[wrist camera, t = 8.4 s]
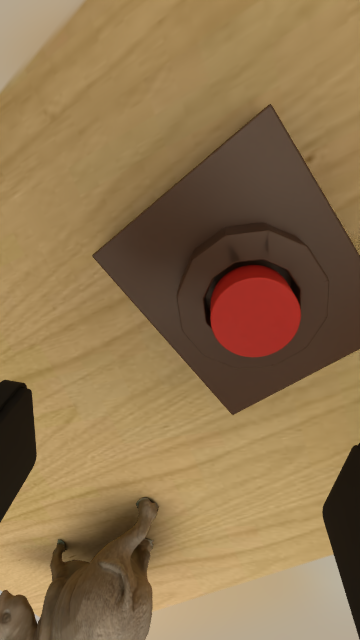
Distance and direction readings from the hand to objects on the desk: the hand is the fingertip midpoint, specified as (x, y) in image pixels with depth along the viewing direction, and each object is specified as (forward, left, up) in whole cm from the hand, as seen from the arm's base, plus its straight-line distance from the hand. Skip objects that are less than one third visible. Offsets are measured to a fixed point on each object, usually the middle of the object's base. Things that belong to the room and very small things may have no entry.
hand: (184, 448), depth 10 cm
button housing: (0, +3, -11) cm, 11 cm away
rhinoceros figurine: (+13, -22, -11) cm, 28 cm away
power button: (0, +3, -7) cm, 8 cm away
